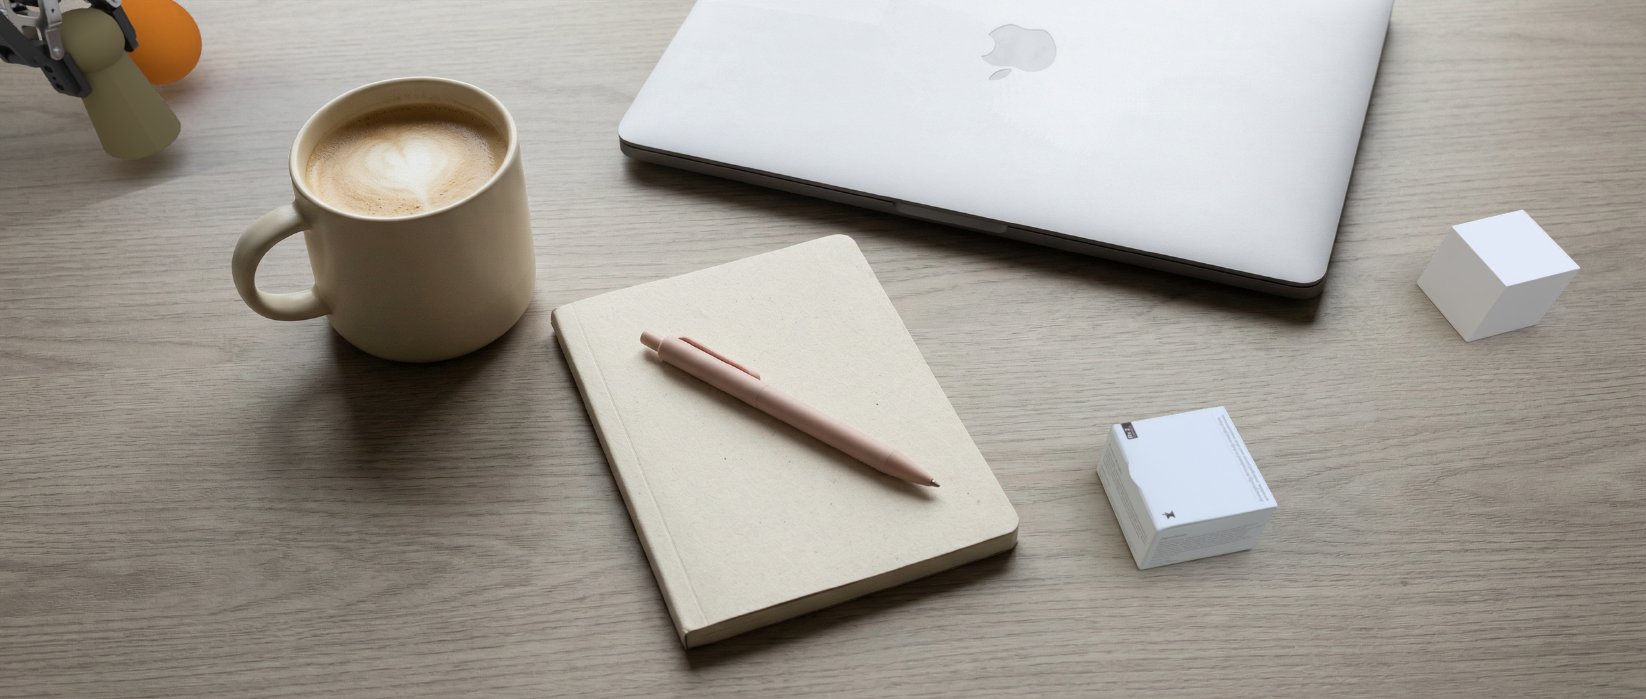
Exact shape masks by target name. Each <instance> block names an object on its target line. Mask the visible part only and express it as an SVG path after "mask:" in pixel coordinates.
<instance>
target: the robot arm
mask: <svg viewBox="0 0 1646 699" xmlns="http://www.w3.org/2000/svg"><path fill="white" fill-rule="evenodd" d="M2 2H3V5H2V3H0V59H1V60H2V61H3V62H4V63H6V64H13V65H21V66H26V67H27V66H28V67H29V68H35V69H40V70H41V71H42V73H43V74H44V76H45V78H46V79H47V81H48V82H49V83H50V85H51V86H52V89H54V90H55V91H56V92H58V94H63V95H66V96H69V97H74V98H80V99H81V98H86V97H87V96H88V95H89V94H90V93H91V92H92V89H91V87H90V85H89V84H88V82H87V81H86V79H85V77H84V76H83V74H82V73H81V71H80V69H79V68H78V66H77V65H76V63H75V61H74V60H73V58H72V57H71V55H70V53H67V52H65V51H64V46H63V42H62V38H61V34H60V31H59V26H61V25H62V23H63V19H62V15H61V13H62V12H61V8H60V3H61V2H62V0H2ZM83 2H85V4H86V3H87V4H90V6H88V8H94V9H98V10H101V11H103V12H104V13H106V14H108V15H110V16H111V17H112V18H113V19H114V20H115V21H116V22H117V23H118V25H119V27H120V29H121V31H122V32H123V35H124V39H125V46H124V50H125V51H126V52H133V51H134V50H135V49H136V48H137V47H138V46H139V44H138V42H137V40H136V39H135V38H137V36H136V32H135V29H134V27H133V26H132V25H131V22H130V20H129V19H128V17H127V15H126V13H125V11H124V10H123V8H122V6H121V2H122V0H83ZM3 6H4V7H3ZM29 7H33V8H38V9H39V11H35V10H31V9H29ZM38 30H39V32H38ZM39 33H40V35H39ZM39 36H40V37H41V39H40V37H39Z"/></svg>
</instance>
